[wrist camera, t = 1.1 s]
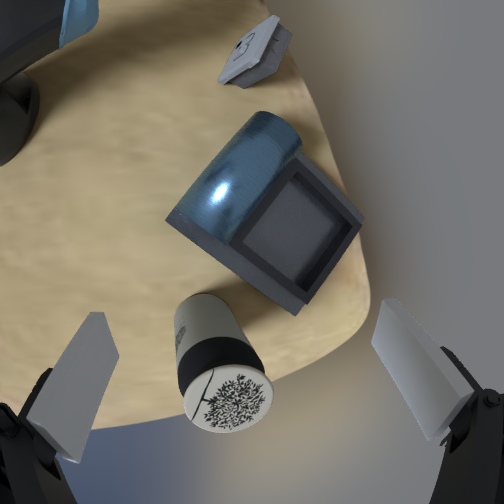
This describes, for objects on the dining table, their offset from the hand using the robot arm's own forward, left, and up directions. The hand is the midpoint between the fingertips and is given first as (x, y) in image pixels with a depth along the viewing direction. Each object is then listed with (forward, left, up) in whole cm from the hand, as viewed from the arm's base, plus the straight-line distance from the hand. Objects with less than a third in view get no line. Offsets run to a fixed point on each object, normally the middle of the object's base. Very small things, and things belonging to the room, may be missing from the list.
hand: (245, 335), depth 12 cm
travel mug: (+6, -7, -25) cm, 26 cm away
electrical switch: (-12, +25, -25) cm, 37 cm away
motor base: (+5, +10, -24) cm, 27 cm away
